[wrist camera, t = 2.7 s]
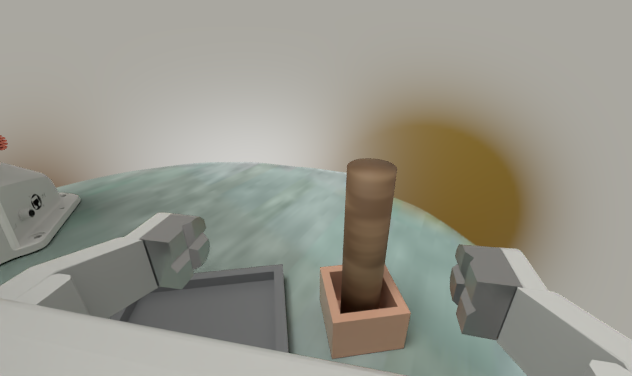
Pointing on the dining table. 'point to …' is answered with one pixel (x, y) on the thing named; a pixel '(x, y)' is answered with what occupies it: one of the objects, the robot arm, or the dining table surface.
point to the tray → (220, 307)
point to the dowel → (366, 232)
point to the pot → (362, 318)
